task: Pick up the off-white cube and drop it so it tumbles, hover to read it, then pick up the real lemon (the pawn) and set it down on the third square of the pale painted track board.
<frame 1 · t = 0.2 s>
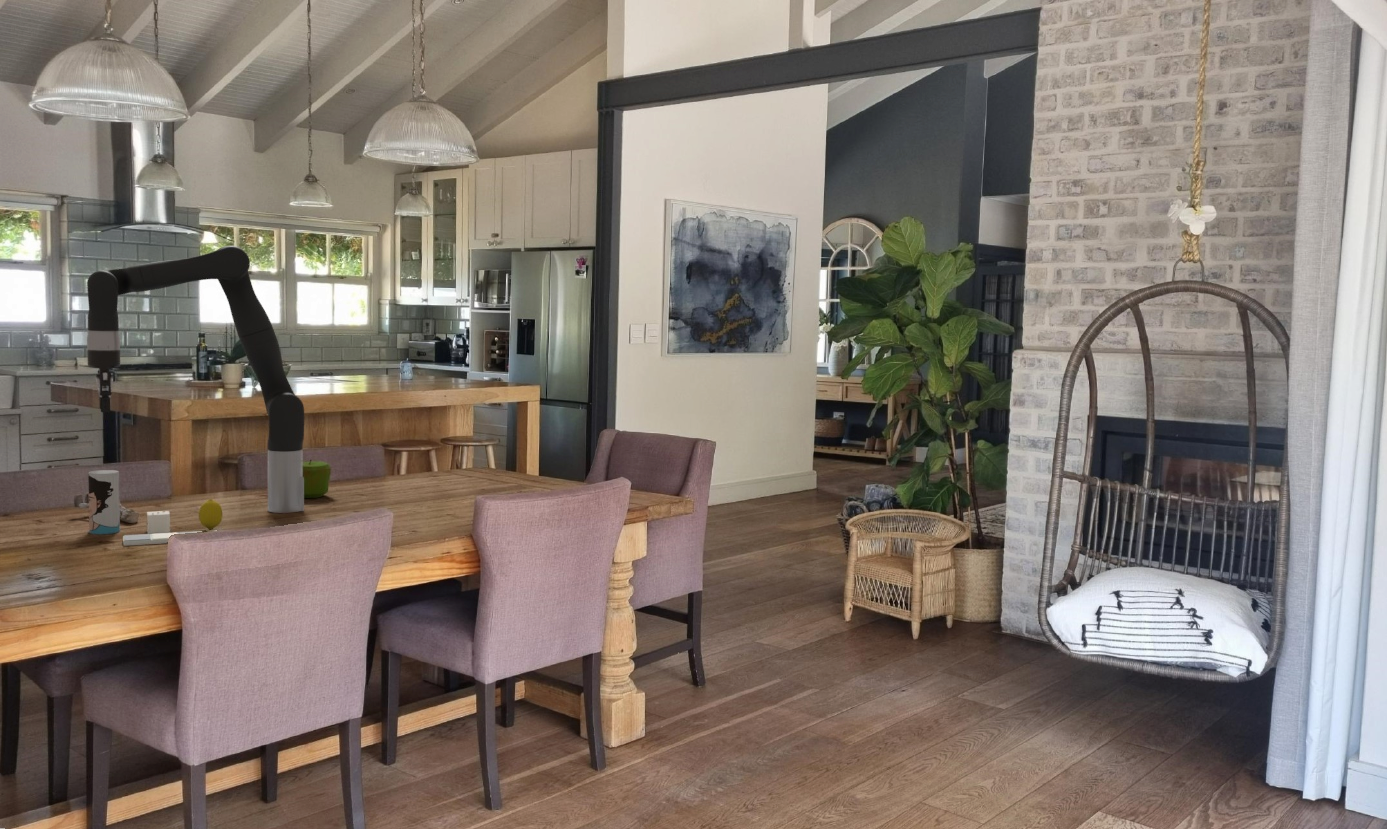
hand: (104, 410, 294), 29 cm above the table, fingers open, 8 cm apart
apple: (310, 497, 342), on the table
figurine: (108, 520, 298), on the table
off-white cube: (158, 532, 283), on the table
board: (178, 539, 275), on the table
cup: (104, 532, 282), on the table
lemon: (210, 530, 288), on the table
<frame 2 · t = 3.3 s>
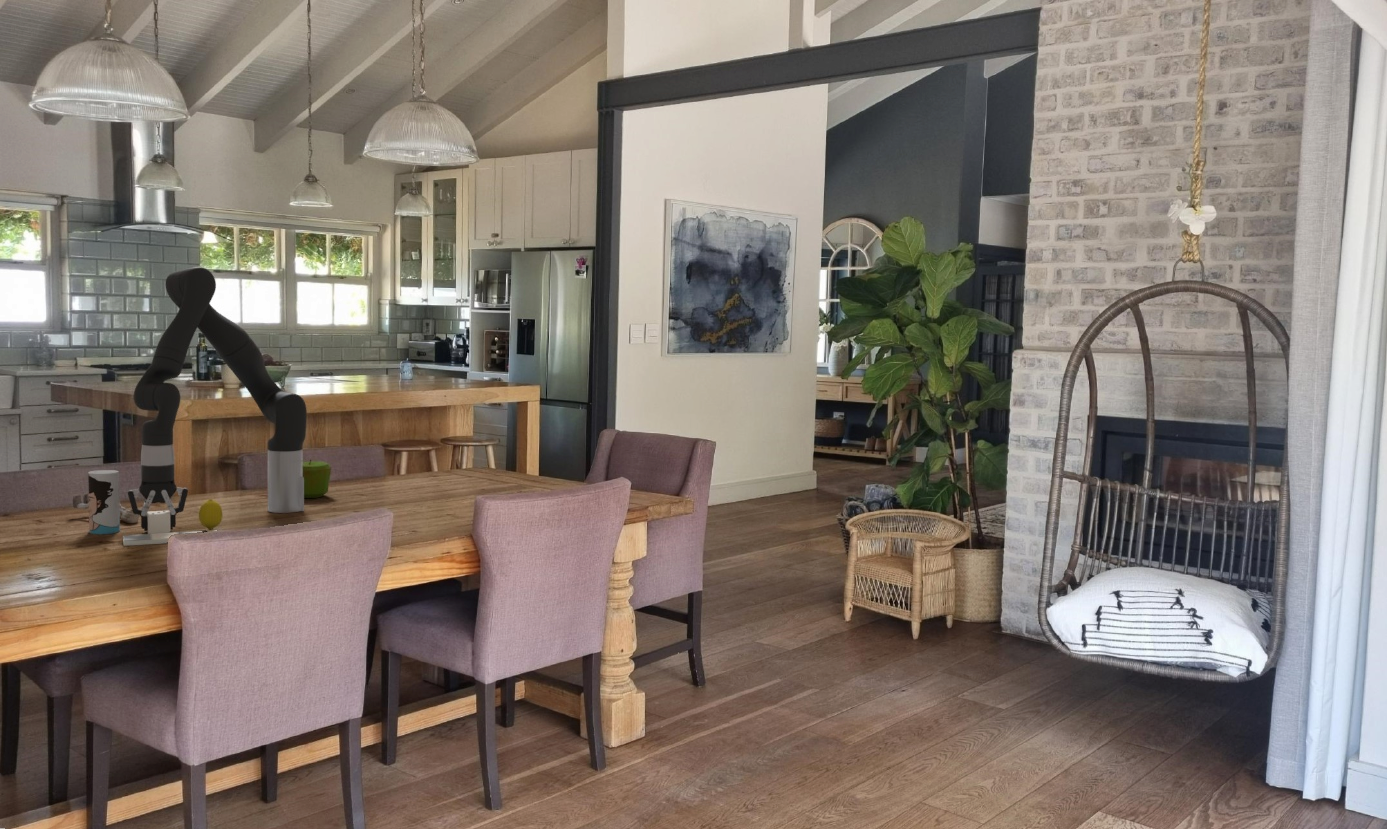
hand: (158, 529, 283), 1 cm above the table, fingers closed on off-white cube, 5 cm apart
off-white cube: (158, 532, 283), on the table, touching gripper
everything else where it was.
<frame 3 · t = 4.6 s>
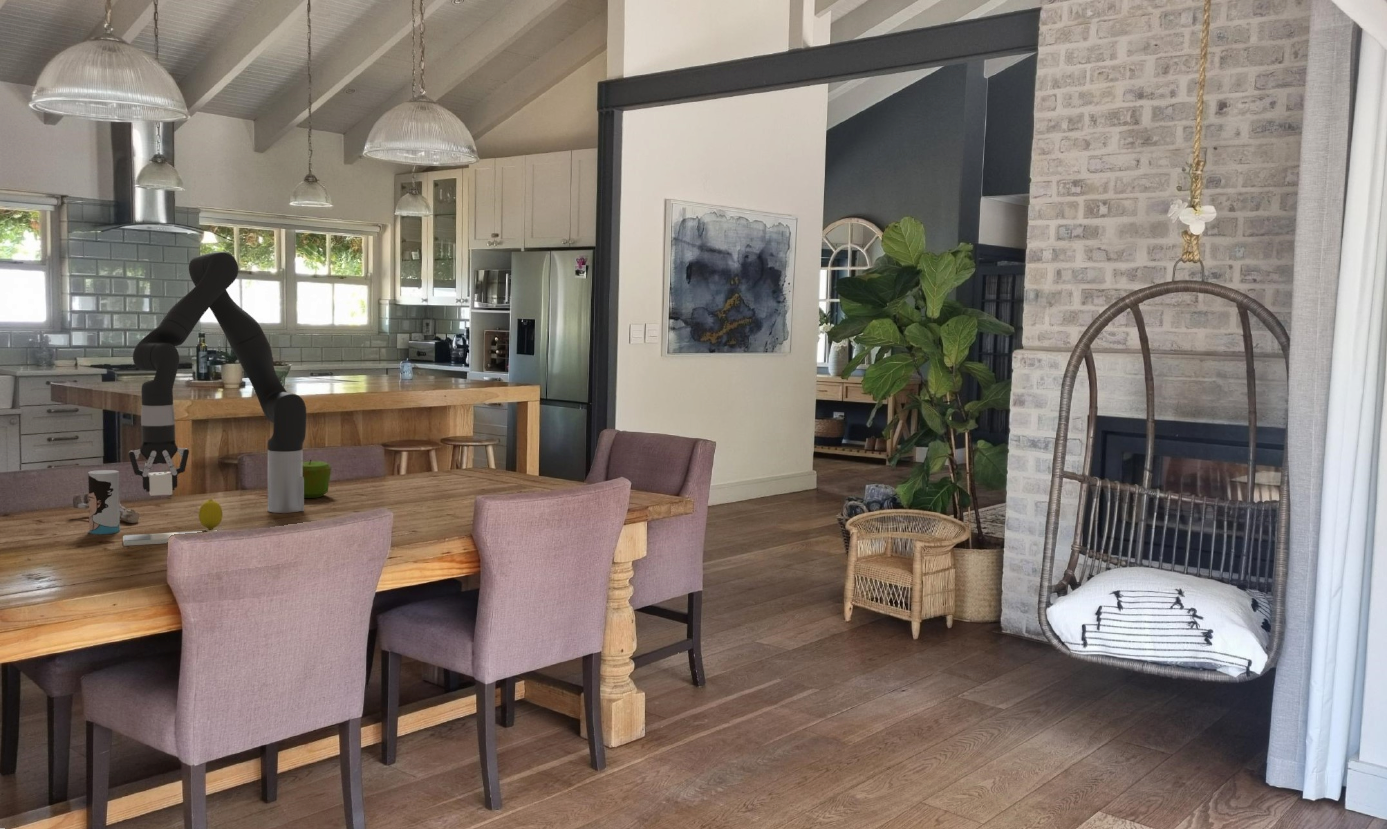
hand: (160, 490, 282), 11 cm above the table, fingers closed on off-white cube, 5 cm apart
off-white cube: (160, 493, 283), point 10 cm above the table, touching gripper
everything else where it was.
when the fingers open (9 cm above the table, at t = 5.6 s): off-white cube drops 9 cm, on the table.
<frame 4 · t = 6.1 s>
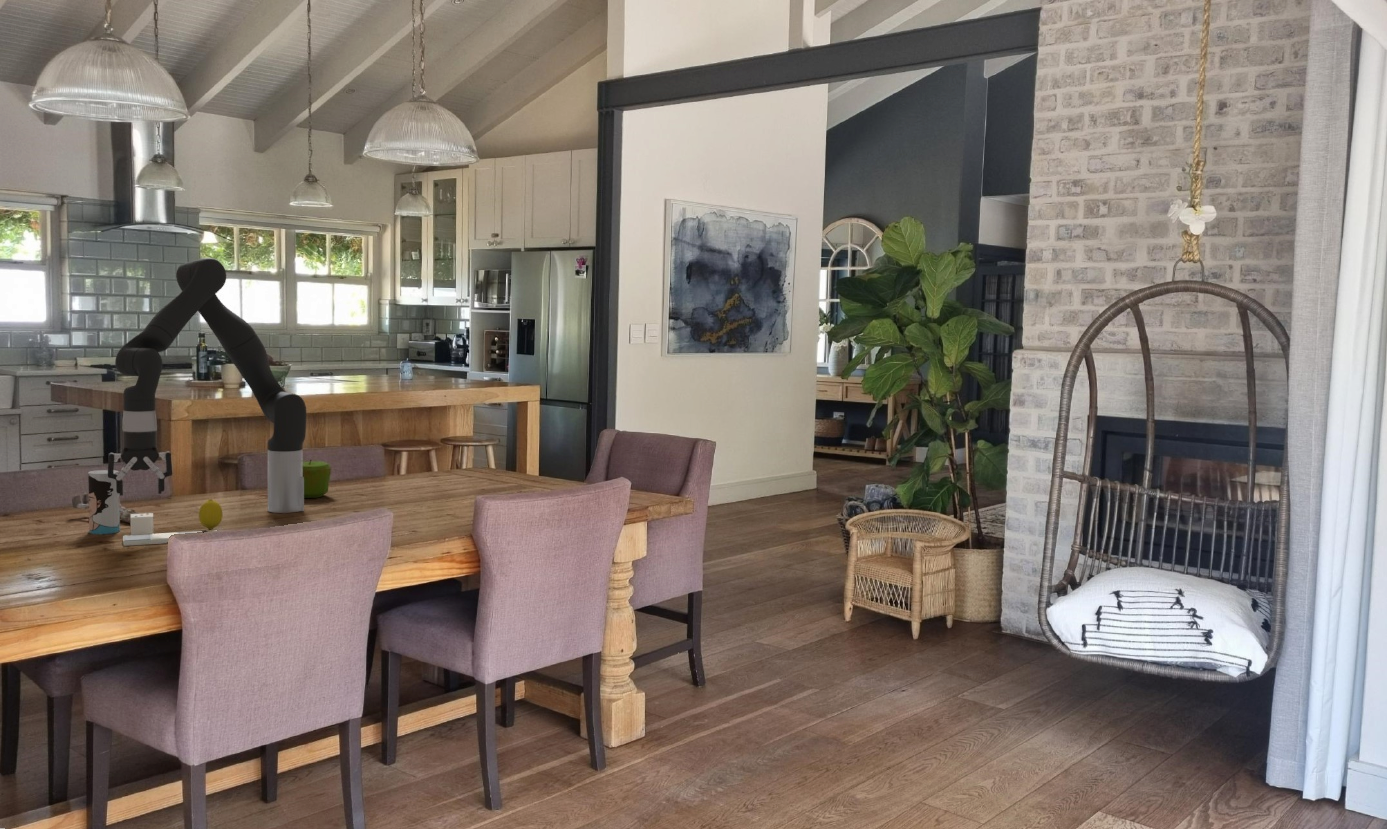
hand: (140, 494, 279), 10 cm above the table, fingers open, 8 cm apart
off-white cube: (142, 535, 280), on the table
everything else where it was.
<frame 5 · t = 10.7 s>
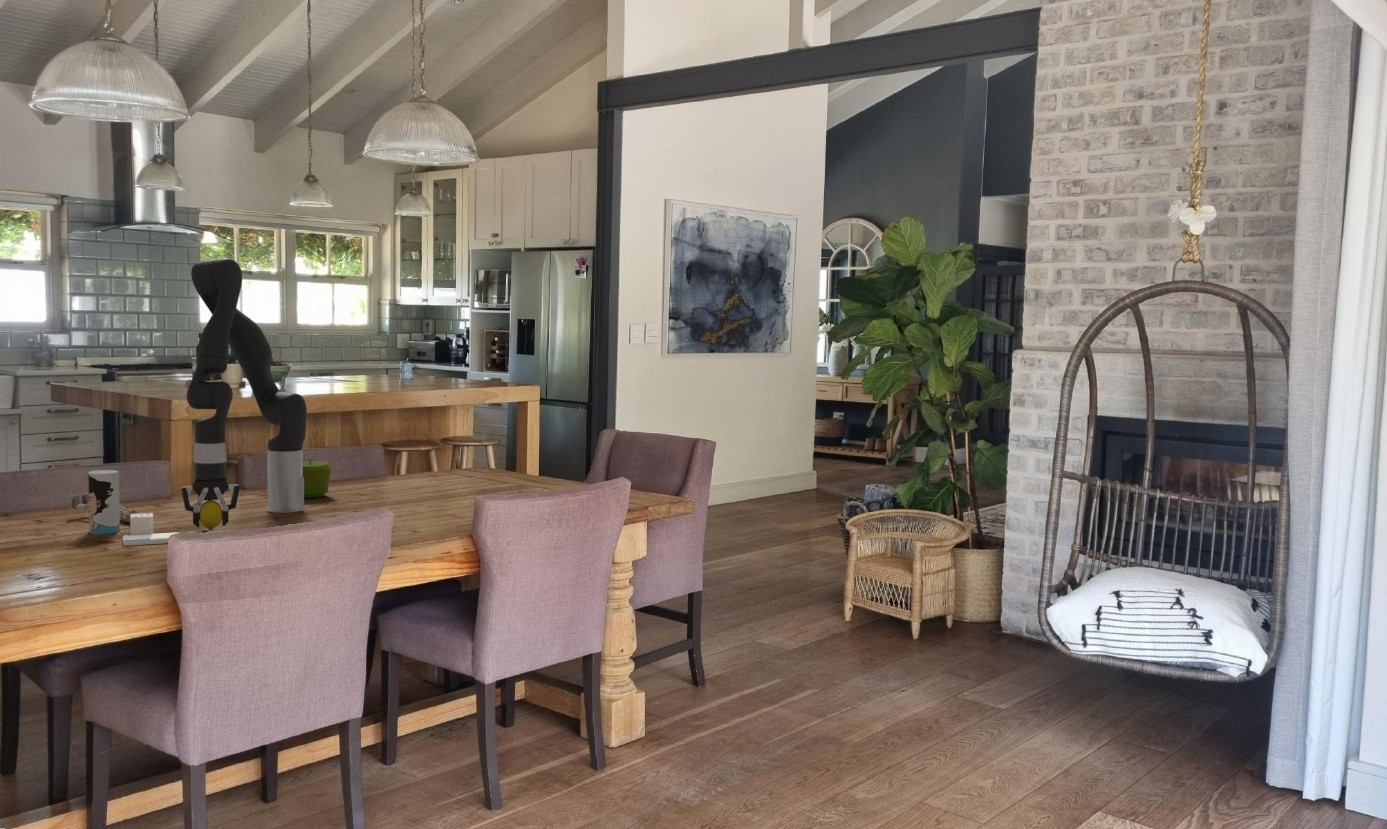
hand: (210, 525, 288), 1 cm above the table, fingers closed on lemon, 5 cm apart
lemon: (210, 530, 288), on the table, touching gripper
everything else where it was.
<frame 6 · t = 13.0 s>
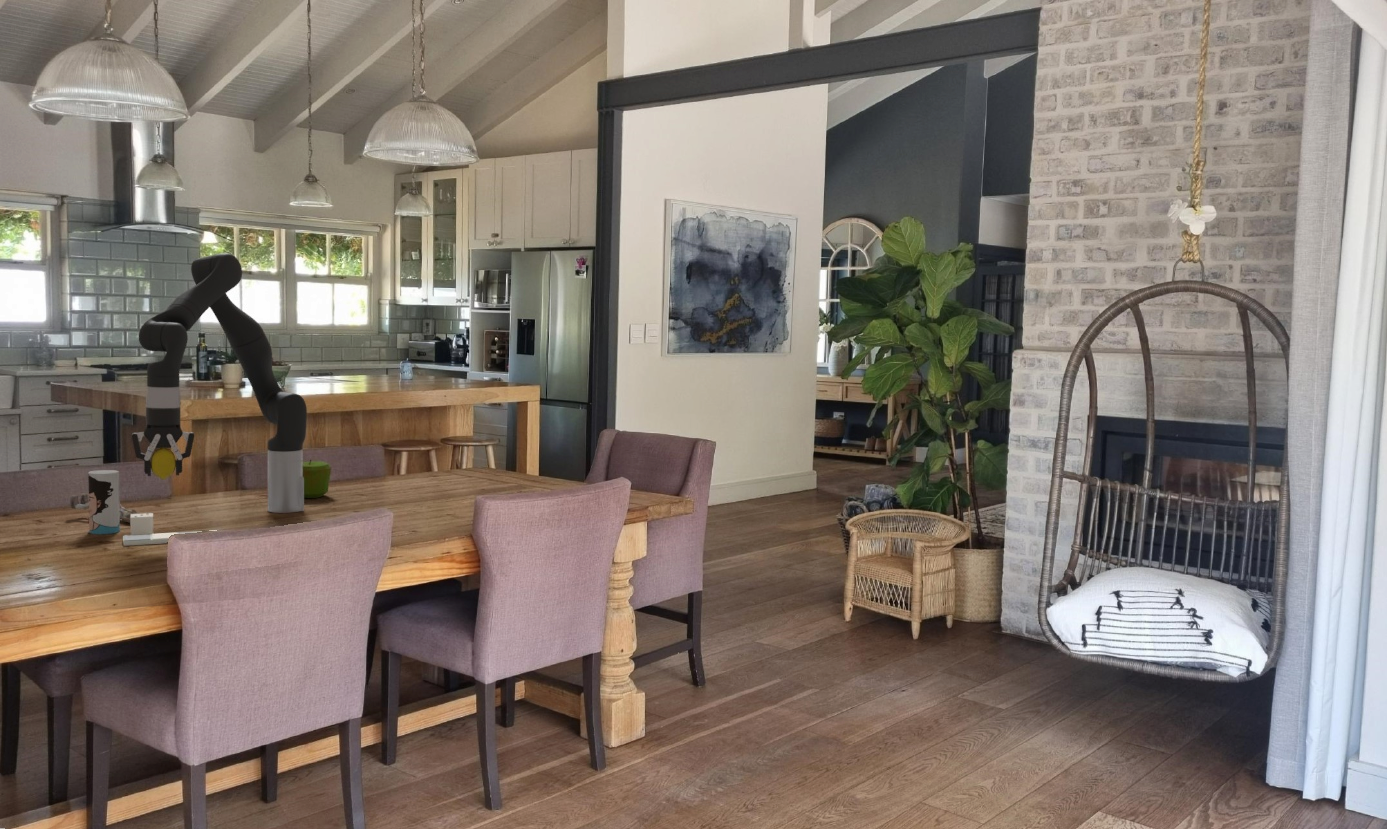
hand: (163, 475, 273), 16 cm above the table, fingers closed on lemon, 5 cm apart
lemon: (163, 480, 273), point 15 cm above the table, touching gripper
when the fingers open (3 cm above the table, at t = 15.5 s): lemon stays where it is, resting on board.
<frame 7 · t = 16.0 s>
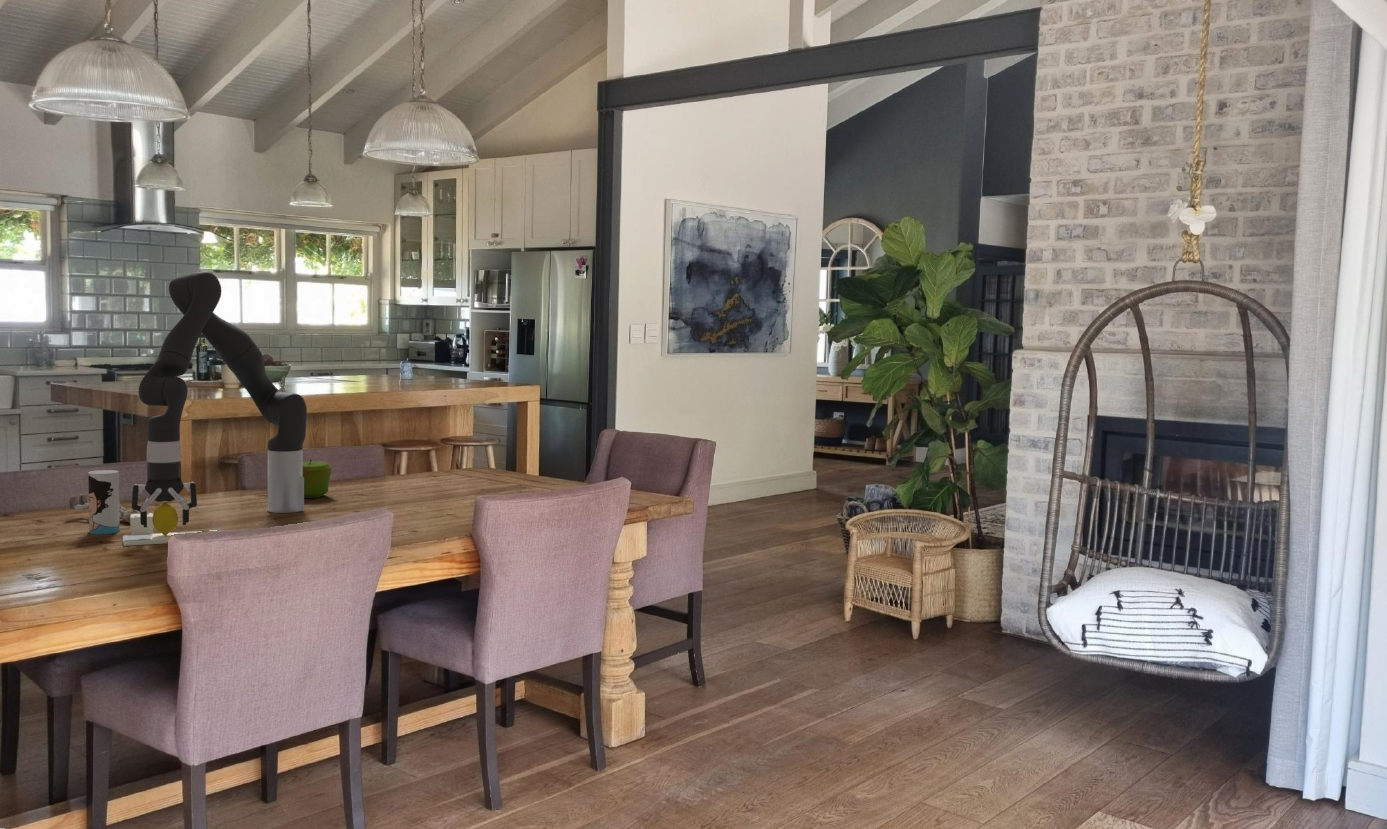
hand: (164, 525, 274), 4 cm above the table, fingers open, 8 cm apart
lemon: (165, 536, 274), point 1 cm above the table, touching board
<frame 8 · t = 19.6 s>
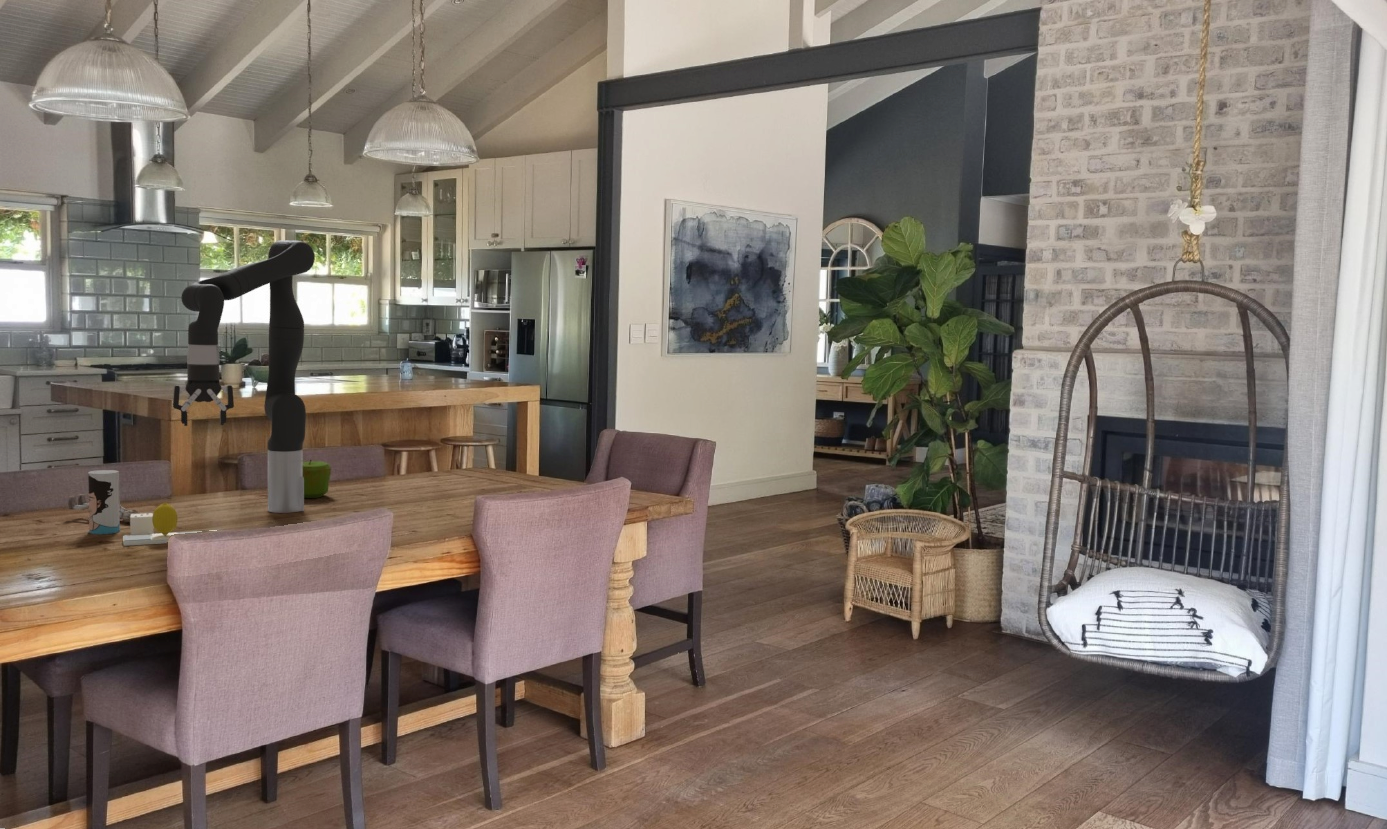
hand: (203, 425, 291), 26 cm above the table, fingers open, 8 cm apart
at the end: lemon inside the target area on the board (0.1 cm from its centre), point 1.0 cm above the board's base; the gripper is holding nothing; off-white cube moved 4.3 cm from its start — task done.
